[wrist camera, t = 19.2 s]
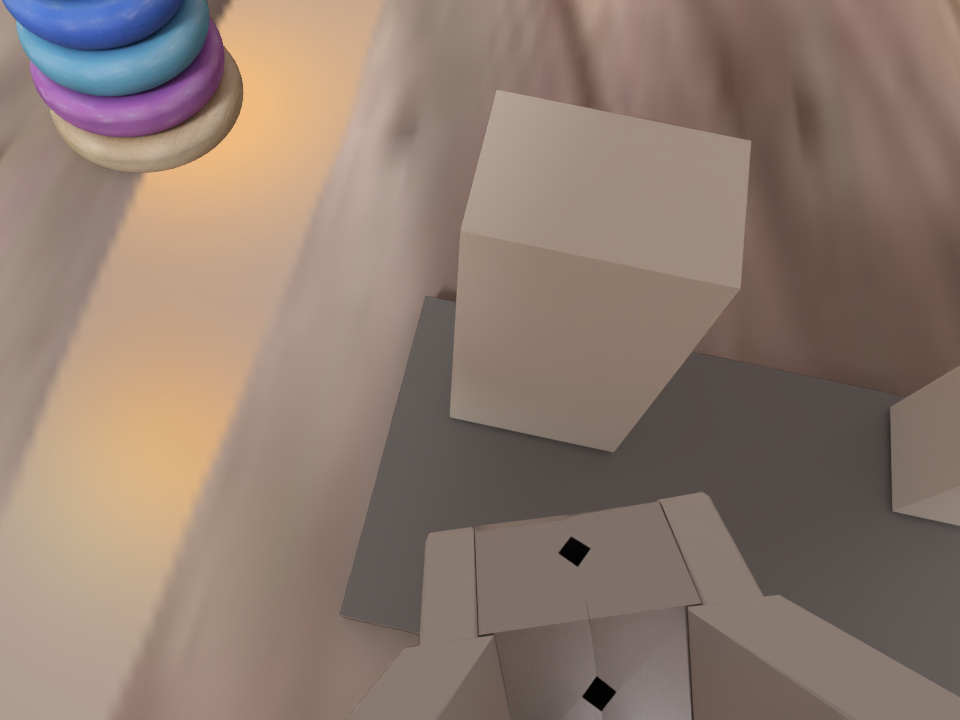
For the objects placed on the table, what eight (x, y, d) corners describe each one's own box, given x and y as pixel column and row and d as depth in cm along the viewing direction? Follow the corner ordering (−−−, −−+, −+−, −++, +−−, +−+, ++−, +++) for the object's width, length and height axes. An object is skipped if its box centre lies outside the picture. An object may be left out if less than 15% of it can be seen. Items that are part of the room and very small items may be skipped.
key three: (613, 452, 27) (740, 288, 16) (449, 417, 27) (460, 230, 16) (627, 346, 28) (751, 132, 17) (473, 314, 28) (498, 81, 17)
